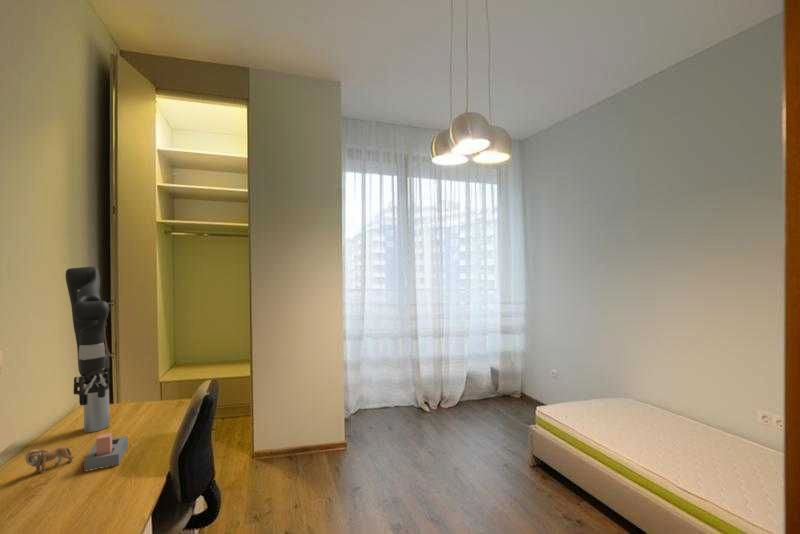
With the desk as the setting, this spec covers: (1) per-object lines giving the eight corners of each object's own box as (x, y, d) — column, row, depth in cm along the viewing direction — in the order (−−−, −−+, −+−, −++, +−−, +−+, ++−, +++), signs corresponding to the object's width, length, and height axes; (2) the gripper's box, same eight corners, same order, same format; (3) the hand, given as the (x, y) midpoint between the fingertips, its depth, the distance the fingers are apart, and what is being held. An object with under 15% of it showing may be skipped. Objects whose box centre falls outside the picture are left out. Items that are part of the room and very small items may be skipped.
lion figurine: (31, 480, 134) (31, 453, 135) (21, 477, 136) (20, 451, 136) (78, 459, 149) (77, 435, 149) (68, 458, 150) (67, 434, 150)
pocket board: (97, 451, 155) (97, 441, 155) (127, 445, 160) (127, 435, 160) (84, 471, 139) (84, 460, 139) (118, 465, 144) (118, 453, 144)
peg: (99, 461, 146) (99, 434, 146) (112, 459, 148) (112, 432, 148) (96, 466, 143) (96, 438, 143) (110, 464, 145) (109, 436, 145)
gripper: (96, 352, 151) (96, 395, 151) (65, 360, 137) (66, 408, 136) (116, 352, 151) (116, 394, 151) (87, 360, 137) (88, 407, 137)
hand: (92, 401), depth 144 cm, fingers open, 8 cm apart
